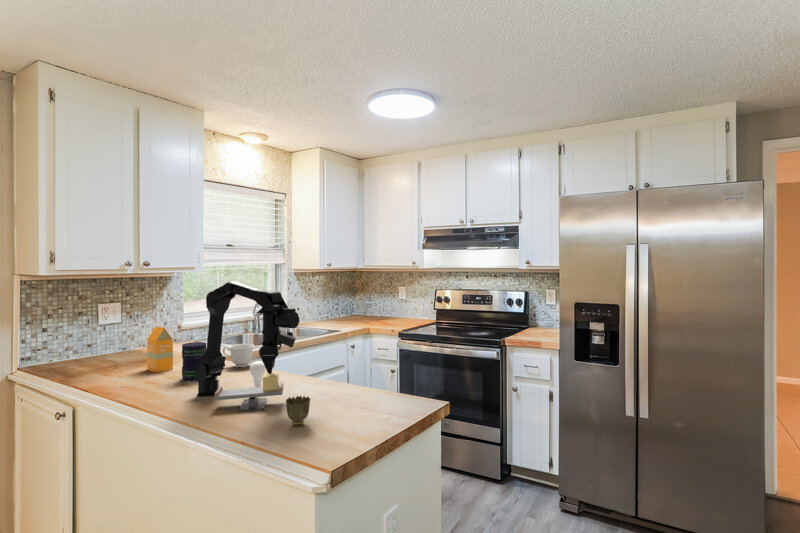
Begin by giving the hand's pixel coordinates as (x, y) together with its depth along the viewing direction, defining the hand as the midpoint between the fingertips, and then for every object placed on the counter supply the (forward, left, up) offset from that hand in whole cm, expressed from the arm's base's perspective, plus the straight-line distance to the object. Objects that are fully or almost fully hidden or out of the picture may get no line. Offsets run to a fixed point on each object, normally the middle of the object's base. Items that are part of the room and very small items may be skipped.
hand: (271, 370), depth 156 cm
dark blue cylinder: (-36, +43, -12) cm, 57 cm away
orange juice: (-56, +63, -12) cm, 85 cm away
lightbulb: (-7, +21, -12) cm, 25 cm away
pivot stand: (-6, 0, -12) cm, 13 cm away
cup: (+10, -22, -12) cm, 27 cm away
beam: (-6, 0, -8) cm, 10 cm away
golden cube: (0, 0, -7) cm, 7 cm away
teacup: (-21, +63, -12) cm, 68 cm away
